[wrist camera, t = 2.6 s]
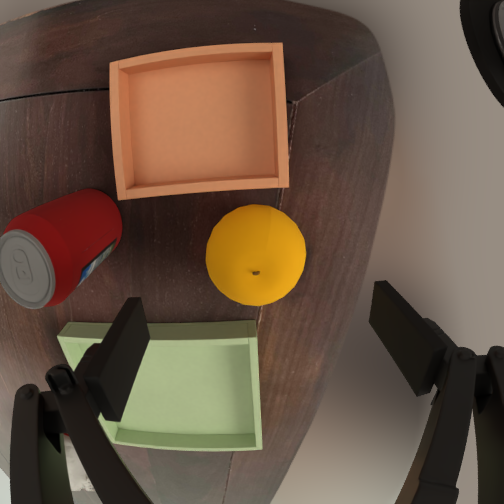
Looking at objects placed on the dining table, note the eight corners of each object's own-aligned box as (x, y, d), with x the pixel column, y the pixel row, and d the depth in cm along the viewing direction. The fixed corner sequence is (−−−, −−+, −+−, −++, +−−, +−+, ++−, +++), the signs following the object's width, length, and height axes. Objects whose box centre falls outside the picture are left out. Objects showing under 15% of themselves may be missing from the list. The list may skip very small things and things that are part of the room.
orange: (264, 295, 29) (272, 342, 22) (193, 254, 28) (179, 292, 21) (314, 228, 27) (339, 259, 20) (241, 180, 26) (242, 194, 19)
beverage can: (72, 256, 27) (4, 315, 16) (61, 190, 25) (-21, 224, 14) (130, 253, 27) (73, 321, 16) (121, 183, 25) (47, 214, 14)
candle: (105, 470, 41) (41, 433, 41) (106, 446, 38) (34, 403, 37) (89, 504, 33) (21, 462, 32) (86, 485, 29) (8, 435, 29)
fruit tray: (255, 319, 30) (257, 337, 27) (260, 432, 37) (262, 449, 34) (68, 321, 30) (56, 336, 27) (116, 428, 37) (111, 443, 34)
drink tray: (277, 53, 22) (282, 42, 19) (283, 182, 26) (289, 187, 23) (122, 70, 22) (109, 62, 19) (130, 194, 26) (117, 200, 23)
